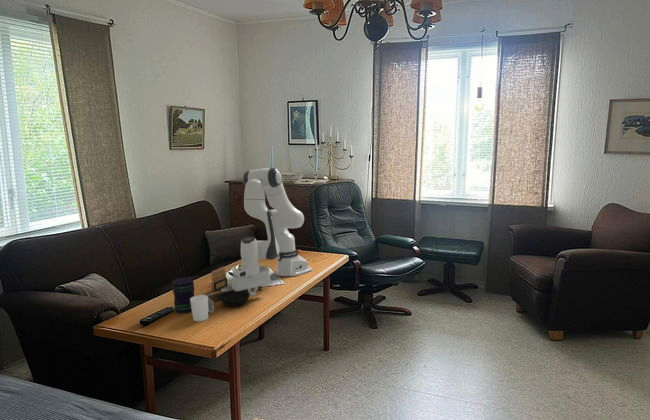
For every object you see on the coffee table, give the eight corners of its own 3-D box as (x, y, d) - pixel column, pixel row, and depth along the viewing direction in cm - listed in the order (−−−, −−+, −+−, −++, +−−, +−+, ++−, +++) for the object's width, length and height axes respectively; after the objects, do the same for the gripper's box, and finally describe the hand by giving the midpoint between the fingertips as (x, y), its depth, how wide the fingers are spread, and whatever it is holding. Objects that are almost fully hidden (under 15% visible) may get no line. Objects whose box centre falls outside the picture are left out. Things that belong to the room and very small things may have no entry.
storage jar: (195, 304, 221) (192, 276, 219) (197, 311, 212) (194, 281, 210) (174, 308, 218) (171, 279, 216) (175, 315, 209) (172, 284, 206)
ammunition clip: (214, 292, 239) (212, 270, 237) (211, 291, 240) (210, 270, 238) (227, 286, 248) (226, 265, 247) (225, 285, 249) (223, 265, 248)
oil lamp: (258, 296, 229) (257, 287, 228) (241, 310, 211) (240, 300, 210) (232, 295, 233) (231, 286, 233) (213, 308, 215) (212, 299, 214)
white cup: (193, 323, 198) (191, 302, 196) (191, 317, 205) (189, 296, 204) (211, 320, 201) (209, 299, 199) (208, 314, 208) (206, 293, 207)
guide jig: (259, 289, 240) (259, 280, 240) (272, 296, 228) (272, 287, 227) (199, 304, 222) (198, 294, 221) (210, 312, 210) (209, 302, 209)
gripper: (266, 264, 232) (267, 289, 234) (229, 272, 221) (231, 298, 223) (271, 266, 227) (273, 292, 229) (234, 274, 216) (236, 302, 218)
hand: (252, 295), depth 226 cm, fingers closed
